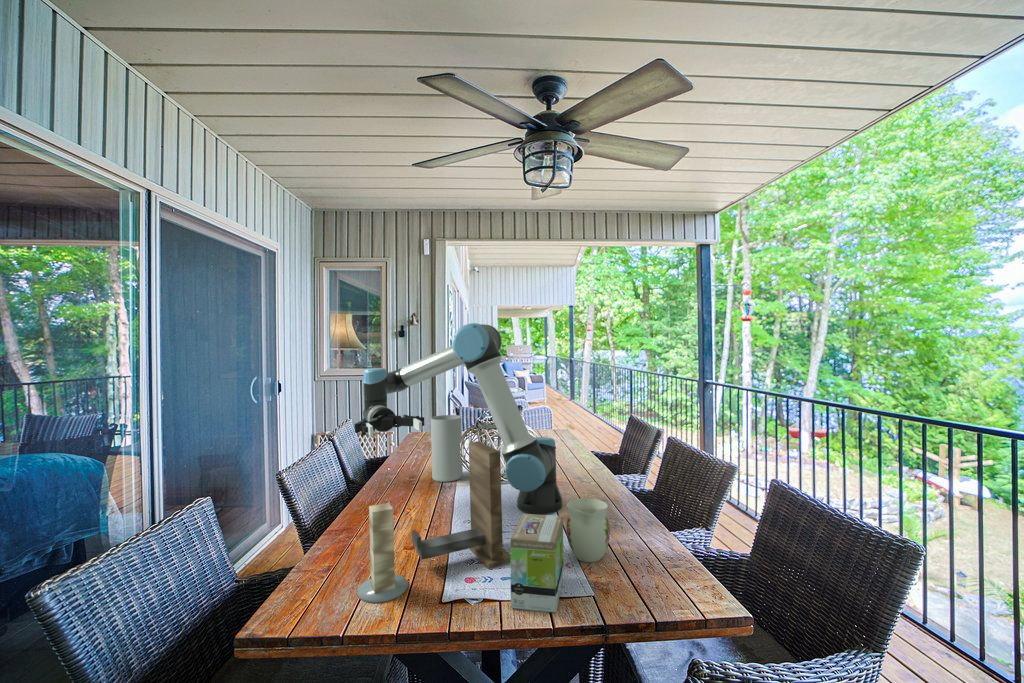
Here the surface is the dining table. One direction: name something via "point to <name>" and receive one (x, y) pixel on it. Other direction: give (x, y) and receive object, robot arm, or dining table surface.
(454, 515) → the dining table surface
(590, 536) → the pitcher
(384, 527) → the cedar rail
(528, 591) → the tea box
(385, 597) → the slate coaster
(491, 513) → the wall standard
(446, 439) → the cylinder vase
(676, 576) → the dining table surface
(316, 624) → the dining table surface
